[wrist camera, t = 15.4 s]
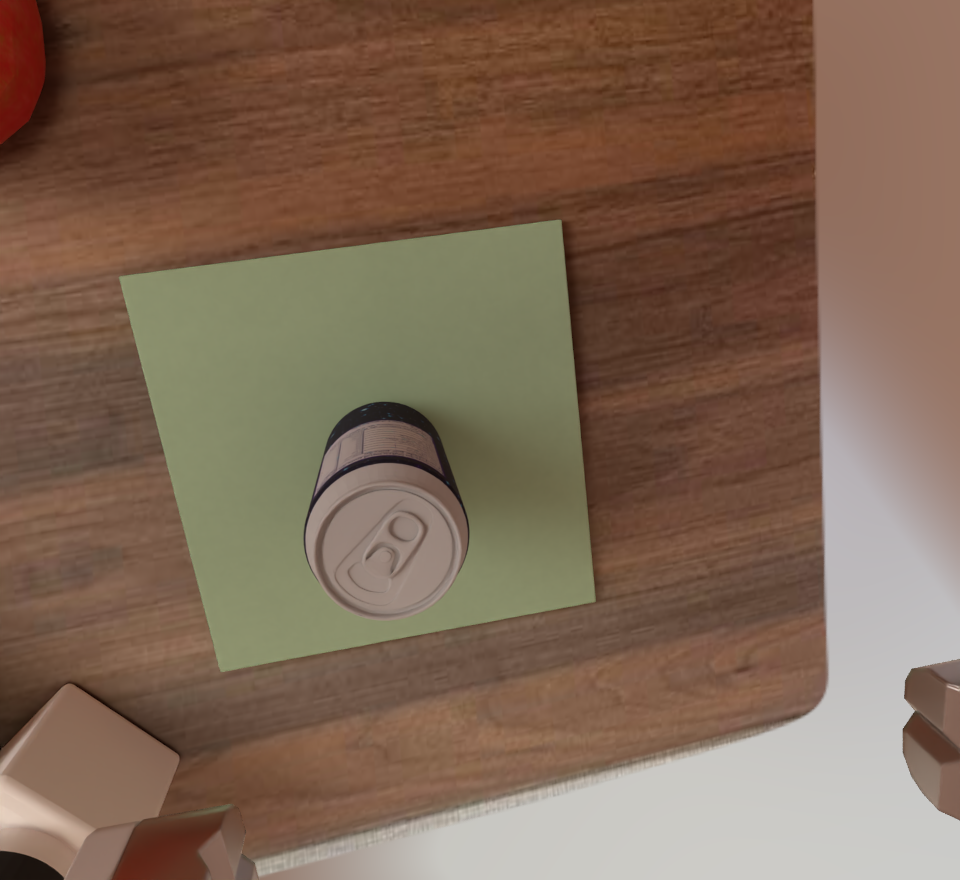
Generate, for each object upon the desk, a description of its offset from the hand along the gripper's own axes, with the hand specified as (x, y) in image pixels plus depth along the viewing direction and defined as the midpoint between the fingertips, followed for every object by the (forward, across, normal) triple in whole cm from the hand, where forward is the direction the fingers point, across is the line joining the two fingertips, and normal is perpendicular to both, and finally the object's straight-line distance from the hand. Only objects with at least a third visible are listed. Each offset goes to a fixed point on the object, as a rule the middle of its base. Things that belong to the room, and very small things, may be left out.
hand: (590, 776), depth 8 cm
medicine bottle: (+27, +21, +17) cm, 38 cm away
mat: (+27, +3, +3) cm, 27 cm away
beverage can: (+27, +3, +3) cm, 27 cm away
